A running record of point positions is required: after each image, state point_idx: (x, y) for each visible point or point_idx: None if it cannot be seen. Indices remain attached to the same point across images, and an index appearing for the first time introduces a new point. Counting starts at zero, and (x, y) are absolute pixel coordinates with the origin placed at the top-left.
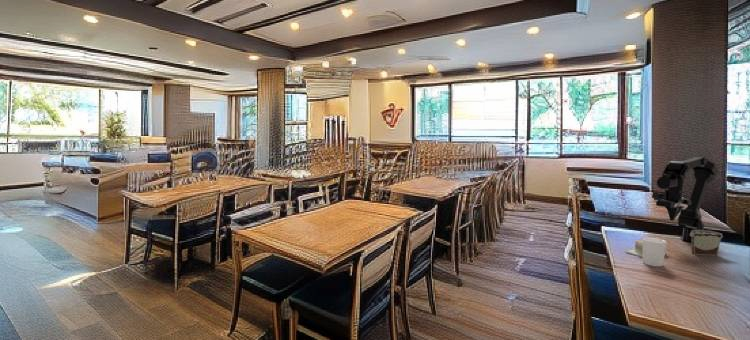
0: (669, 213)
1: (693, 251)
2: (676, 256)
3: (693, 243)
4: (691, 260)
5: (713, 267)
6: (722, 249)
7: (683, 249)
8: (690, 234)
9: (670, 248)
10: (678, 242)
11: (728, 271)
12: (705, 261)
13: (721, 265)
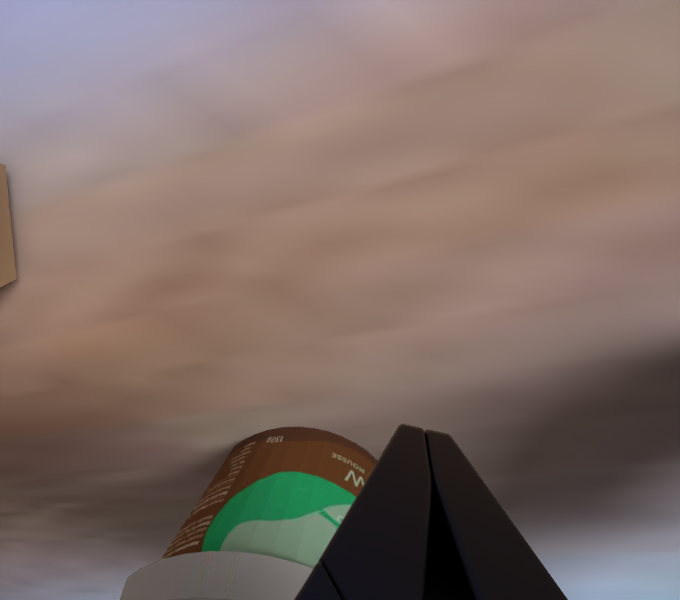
0: (312, 592)
1: (230, 459)
2: (36, 371)
3: (193, 517)
4: (47, 454)
5: (34, 547)
6: (640, 567)
7: (332, 367)
8: (163, 575)
9: (254, 281)
10: (637, 275)
11: (42, 595)
12: (119, 512)
13: (126, 572)
